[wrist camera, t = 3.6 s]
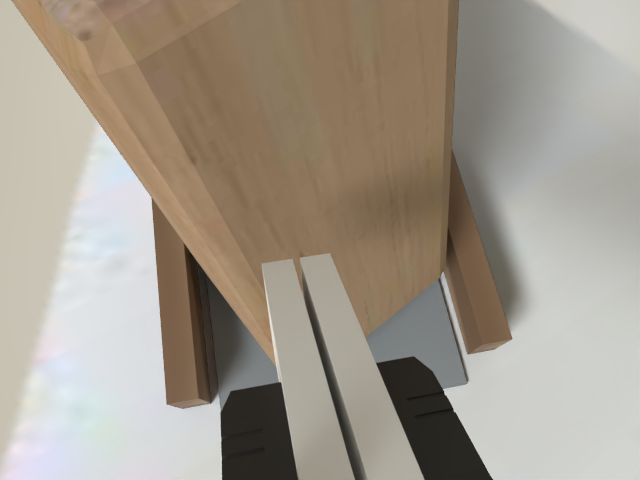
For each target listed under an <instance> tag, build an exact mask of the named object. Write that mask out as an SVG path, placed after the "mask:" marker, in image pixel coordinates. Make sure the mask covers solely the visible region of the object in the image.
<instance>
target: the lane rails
mask: <svg viewBox="0 0 640 480" xmlns="http://www.w3.org/2000/svg"><path fill="white" fill-rule="evenodd" d="M152 209H153V223H154V237H155V250H156V264H157V277H158V291H159V304H160V318H161V332H162V345H163V359H164V372H165V386H166V399H167V405H171V406H175V407H178V408H182V409H184V408H189V407H194V406H200V405H205V404H210V403H211V397H210V387H209V378H208V368H207V358H206V349H205V339H204V329H203V320H202V310H201V300H200V291H199V281H198V271H197V261H196V259H195V258H194V256H193V255H192V253H191V252H190V251H189V249H188V248H187V246H186V245H185V244H184V242H183V241H182V239H181V238H180V237H179V235H178V234H177V232H176V231H175V230H174V228H173V227H172V225H171V224H170V222H169V221H168V220H167V218H166V217H165V215H164V214H163V213H162V211H161V210H160V208H159V207H158V206H157V204H156V203H155V201H154V200H153V199H152ZM444 273H445V277H446V280H447V284H448V287H449V291H450V294H451V298H452V302H453V305H454V309H455V312H456V316H457V319H458V323H459V326H460V330H461V333H462V337H463V340H464V344H465V347H466V351H467V354H473V353H478V352H483V351H488V350H494V349H496V348H497V347H499V346H501V345H503V344H504V343H506V342H508V341H510V340H511V339H512V336H511V333H510V330H509V327H508V324H507V320H506V317H505V314H504V311H503V308H502V305H501V302H500V299H499V295H498V292H497V289H496V286H495V283H494V280H493V277H492V273H491V270H490V267H489V264H488V261H487V258H486V255H485V251H484V248H483V245H482V242H481V239H480V236H479V233H478V229H477V226H476V223H475V220H474V217H473V214H472V211H471V207H470V204H469V201H468V198H467V195H466V192H465V189H464V185H463V182H462V179H461V176H460V173H459V170H458V167H457V163H456V160H455V157H454V154H453V151H452V149H451V169H450V189H449V209H448V229H447V249H446V266H445V268H444Z"/></svg>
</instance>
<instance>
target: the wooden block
mask: <svg viewBox="0 0 640 480" xmlns="http://www.w3.org/2000/svg"><path fill="white" fill-rule="evenodd" d="M12 2H13V3H14V4H15V6H16V7H17V9H18V10H19V11H20V13H21V14H22V16H23V17H24V18H25V20H26V21H27V23H28V24H29V26H30V27H31V28H32V30H33V31H34V33H35V34H36V35H37V37H38V38H39V40H40V41H41V42H42V44H43V45H44V47H45V48H46V49H47V51H48V52H49V54H50V55H51V56H52V58H53V59H54V61H55V62H56V64H57V65H58V66H59V68H60V69H61V71H62V72H63V73H64V74H65V76H66V78H67V79H68V80H69V82H70V83H71V85H72V86H73V87H74V89H75V90H76V92H77V93H78V94H79V96H80V97H81V99H82V100H83V102H84V103H85V104H86V106H87V107H88V108H89V110H90V111H91V113H92V114H93V116H94V117H95V118H96V120H97V121H98V123H99V124H100V125H101V127H102V128H103V130H104V131H105V132H106V134H107V135H108V137H109V138H110V139H111V141H112V142H113V144H114V145H115V147H116V148H117V149H118V151H119V152H120V154H121V155H122V156H123V158H124V159H125V161H126V162H127V163H128V165H129V166H130V168H131V169H132V170H133V172H134V173H135V175H136V176H137V177H138V179H139V180H140V182H141V183H142V184H143V186H144V187H145V189H146V190H147V192H148V193H149V194H150V196H151V197H152V199H153V200H154V201H155V203H156V204H157V206H158V207H159V208H160V210H161V211H162V213H163V214H164V215H165V217H166V218H167V220H168V221H169V222H170V224H171V225H172V227H173V228H174V230H175V231H176V232H177V234H178V235H179V237H180V238H181V239H182V241H183V242H184V244H185V245H186V246H187V248H188V249H189V251H190V252H191V253H192V255H193V256H194V258H195V259H196V260H197V262H198V263H199V265H200V266H201V267H202V269H203V270H204V272H205V273H206V274H207V276H208V277H209V278H210V280H211V281H212V282H213V284H214V285H215V286H216V288H217V289H218V290H219V292H220V293H221V294H222V296H223V297H224V298H225V300H226V301H227V302H228V304H229V305H230V306H231V308H232V309H233V310H234V312H235V313H236V314H237V316H238V317H239V318H240V320H241V321H242V322H243V324H244V325H245V326H246V328H247V329H248V330H249V332H250V333H251V334H252V336H253V337H254V338H255V340H256V341H257V342H258V344H259V345H260V346H261V348H262V349H263V350H264V352H265V353H266V354H267V356H268V357H269V358H270V360H271V361H272V362H273V364H274V365H275V366H276V361H275V355H274V349H273V342H272V335H271V328H270V320H269V313H268V306H267V299H266V292H265V285H264V278H263V270H262V263H269V262H275V261H282V260H288V259H293V263H294V266H295V270H296V273H297V277H298V280H299V284H300V287H301V291H302V294H303V287H302V277H301V267H300V258H301V257H308V256H315V255H321V254H328V253H330V255H331V257H332V259H333V262H334V264H335V267H336V269H337V271H338V274H339V276H340V279H341V281H342V283H343V286H344V288H345V291H346V293H347V295H348V298H349V300H350V303H351V305H352V307H353V310H354V312H355V314H356V317H357V319H358V322H359V324H360V326H361V329H362V331H363V334H364V336H365V338H366V337H367V336H368V335H369V334H371V333H372V332H373V331H374V330H376V329H377V328H378V327H379V326H380V325H382V324H383V323H384V322H385V321H387V320H388V319H389V318H390V317H392V316H393V315H394V314H395V313H397V312H398V311H399V310H400V309H401V308H403V307H404V306H405V305H406V304H408V303H409V302H410V301H411V300H413V299H414V298H415V297H416V296H418V295H419V294H420V293H421V292H422V291H424V290H425V289H426V288H427V287H429V286H430V285H431V284H432V283H434V282H435V281H436V280H437V279H439V278H440V276H441V274H442V272H443V270H444V268H445V266H446V249H447V229H448V209H449V189H450V169H451V149H452V129H453V109H454V89H455V69H456V49H457V29H458V9H459V0H12ZM303 298H304V297H303ZM276 368H277V367H276Z"/></svg>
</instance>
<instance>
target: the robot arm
mask: <svg viewBox="0 0 640 480" xmlns="http://www.w3.org/2000/svg"><path fill="white" fill-rule="evenodd" d="M300 267H301V277H302V287H303V294H302V291H301V287H300V284H299V280H298V277H297V273H296V270H295V266H294V263H293V259H288V260H282V261H275V262H269V263H262V270H263V278H264V285H265V292H266V299H267V306H268V313H269V320H270V328H271V335H272V342H273V349H274V355H275V361H276V367H277V373H278V379H279V382H278V383H272V384H267V385H261V386H256V387H250V388H245V389H239V390H234V391H231V392H230V394H229V396H228V398H227V400H226V402H225V404H224V407H223V409H222V411H221V438H222V441H221V448H222V480H493V479H492V478H491V476H490V474H489V473H488V471H487V469H486V467H485V465H484V464H483V462H482V460H481V458H480V456H479V454H478V453H477V451H476V449H475V447H474V445H473V443H472V442H471V440H470V438H469V436H468V434H467V433H466V431H465V429H464V427H463V425H462V423H461V422H460V420H459V418H458V416H457V414H456V412H455V413H454V411H453V407H452V405H451V403H450V402H449V400H448V398H447V396H445V395H444V391H443V389H442V387H441V385H440V383H439V382H438V380H437V378H436V376H435V374H434V372H433V371H432V370H431V369H429V368H428V367H427V366H426V365H424V364H423V363H422V362H421V361H419V360H418V359H417V358H416V357H414V356H412V357H406V358H401V359H395V360H390V361H384V362H379V363H376V362H375V360H374V358H373V355H372V353H371V350H370V348H369V346H368V343H367V341H366V338H365V336H364V334H363V331H362V329H361V326H360V324H359V322H358V319H357V317H356V314H355V312H354V310H353V307H352V305H351V303H350V300H349V298H348V295H347V293H346V291H345V288H344V286H343V283H342V281H341V279H340V276H339V274H338V271H337V269H336V267H335V264H334V262H333V259H332V257H331V255H330V253H328V254H321V255H315V256H308V257H301V258H300ZM303 297H304V298H303Z"/></svg>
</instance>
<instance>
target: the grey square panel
mask: <svg viewBox="0 0 640 480" xmlns="http://www.w3.org/2000/svg"><path fill="white" fill-rule="evenodd" d="M206 279H207V288H208V297H209V306H210V316H211V325H212V334H213V343H214V352H215V361H216V370H217V380H218V389H219V398H220V407H221V411H222V409H223V407H224V404H225V402H226V400H227V398H228V396H229V394H230V392H231V391H234V390H239V389H245V388H250V387H256V386H261V385H267V384H272V383H278V382H279V379H278V373H277V368H276V366H275V365H274V364H273V362H272V361H271V360H270V358H269V357H268V356H267V354H266V353H265V352H264V350H263V349H262V348H261V346H260V345H259V344H258V342H257V341H256V340H255V338H254V337H253V336H252V334H251V333H250V332H249V330H248V329H247V328H246V326H245V325H244V324H243V322H242V321H241V320H240V318H239V317H238V316H237V314H236V313H235V312H234V310H233V309H232V308H231V306H230V305H229V304H228V302H227V301H226V300H225V298H224V297H223V296H222V294H221V293H220V292H219V290H218V289H217V288H216V286H215V285H214V284H213V282H212V281H211V280H210V278H209V277H208V276H207V274H206ZM366 341H367V343H368V346H369V348H370V350H371V353H372V355H373V358H374V360H375V362H376V363H379V362H384V361H390V360H395V359H401V358H406V357H412V356H414V357H416V358H417V359H418V360H419V361H421V362H422V363H423V364H424V365H426V366H427V367H428V368H429V369H431V370H432V371H433V372H434V374H435V376H436V378H437V380H438V382H439V383H440V385H441V387H442V389H444V388H449V387H454V386H460V385H465V384H467V381H466V377H465V374H464V370H463V366H462V363H461V359H460V356H459V352H458V348H457V345H456V341H455V338H454V334H453V330H452V327H451V323H450V320H449V316H448V312H447V309H446V305H445V302H444V298H443V294H442V291H441V287H440V284H439V280H438V279H437V280H436V281H435V282H434V283H432V284H431V285H430V286H429V287H427V288H426V289H425V290H424V291H422V292H421V293H420V294H419V295H418V296H416V297H415V298H414V299H413V300H411V301H410V302H409V303H408V304H406V305H405V306H404V307H403V308H401V309H400V310H399V311H398V312H397V313H395V314H394V315H393V316H392V317H390V318H389V319H388V320H387V321H385V322H384V323H383V324H382V325H380V326H379V327H378V328H377V329H376V330H374V331H373V332H372V333H371V334H369V335H368V336H367V337H366Z"/></svg>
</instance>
